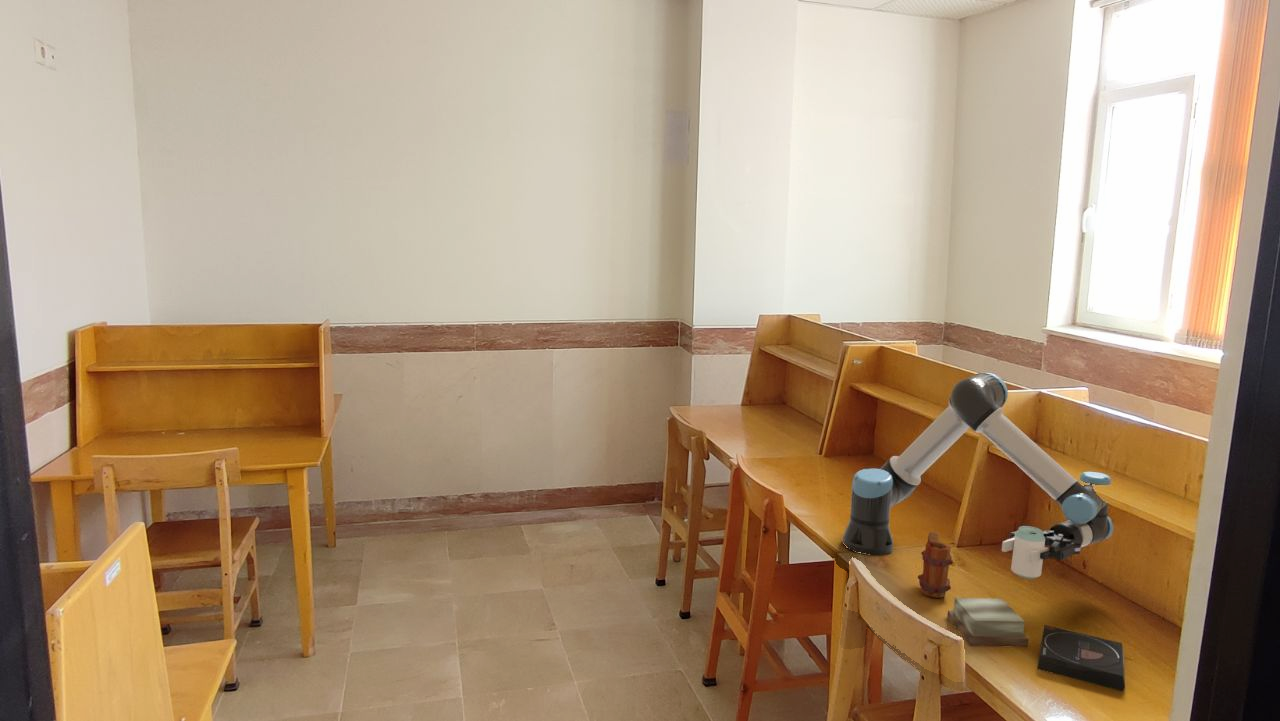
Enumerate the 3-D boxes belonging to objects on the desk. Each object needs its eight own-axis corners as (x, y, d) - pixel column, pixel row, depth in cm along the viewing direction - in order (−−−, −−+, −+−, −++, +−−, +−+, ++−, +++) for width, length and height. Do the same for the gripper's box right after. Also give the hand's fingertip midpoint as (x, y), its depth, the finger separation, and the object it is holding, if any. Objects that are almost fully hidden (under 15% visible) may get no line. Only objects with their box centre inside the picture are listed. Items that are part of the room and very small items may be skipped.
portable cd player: (1124, 693, 178) (1126, 676, 178) (1037, 670, 186) (1039, 654, 186) (1122, 659, 192) (1125, 643, 192) (1042, 639, 201) (1044, 624, 200)
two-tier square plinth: (947, 617, 210) (949, 595, 209) (1001, 618, 210) (1003, 596, 209) (970, 645, 196) (972, 622, 195) (1028, 646, 196) (1030, 623, 195)
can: (1046, 576, 211) (1051, 531, 209) (1030, 582, 207) (1035, 537, 205) (1021, 565, 217) (1026, 522, 215) (1005, 571, 213) (1010, 527, 211)
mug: (951, 603, 217) (957, 550, 215) (919, 600, 219) (924, 546, 216) (943, 580, 232) (948, 529, 229) (913, 577, 233) (917, 526, 231)
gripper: (1104, 562, 212) (1052, 581, 200) (1033, 536, 229) (981, 551, 217) (1108, 535, 211) (1055, 552, 199) (1036, 510, 228) (984, 525, 216)
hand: (1016, 552), depth 208 cm, fingers closed on can, 7 cm apart
